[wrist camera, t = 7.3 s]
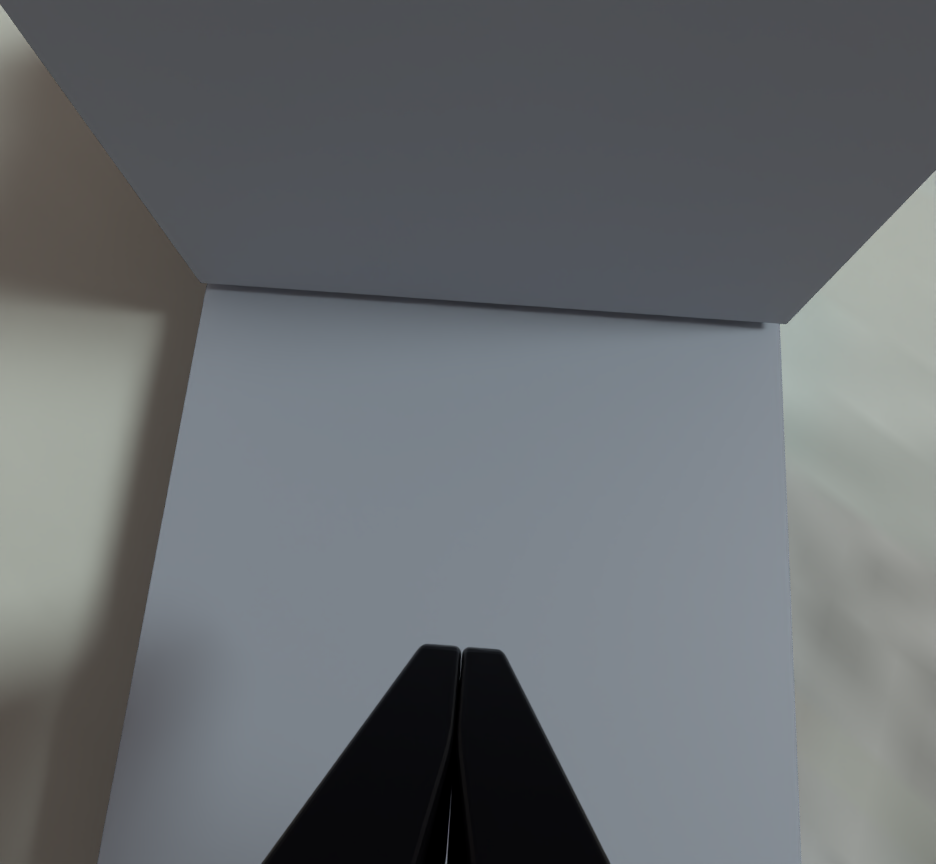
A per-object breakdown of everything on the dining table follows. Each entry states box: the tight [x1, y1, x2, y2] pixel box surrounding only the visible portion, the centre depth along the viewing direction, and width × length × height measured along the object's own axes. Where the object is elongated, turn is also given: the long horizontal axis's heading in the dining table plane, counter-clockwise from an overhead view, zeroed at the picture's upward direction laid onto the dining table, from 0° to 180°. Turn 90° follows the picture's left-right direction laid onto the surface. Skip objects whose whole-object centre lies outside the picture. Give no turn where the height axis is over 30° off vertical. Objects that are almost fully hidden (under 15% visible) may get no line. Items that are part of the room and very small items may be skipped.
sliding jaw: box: [0, 0, 936, 324], centre depth 10 cm, size 2×11×9 cm, turn 86°
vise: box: [97, 283, 801, 864], centre depth 13 cm, size 19×11×6 cm, turn 176°
